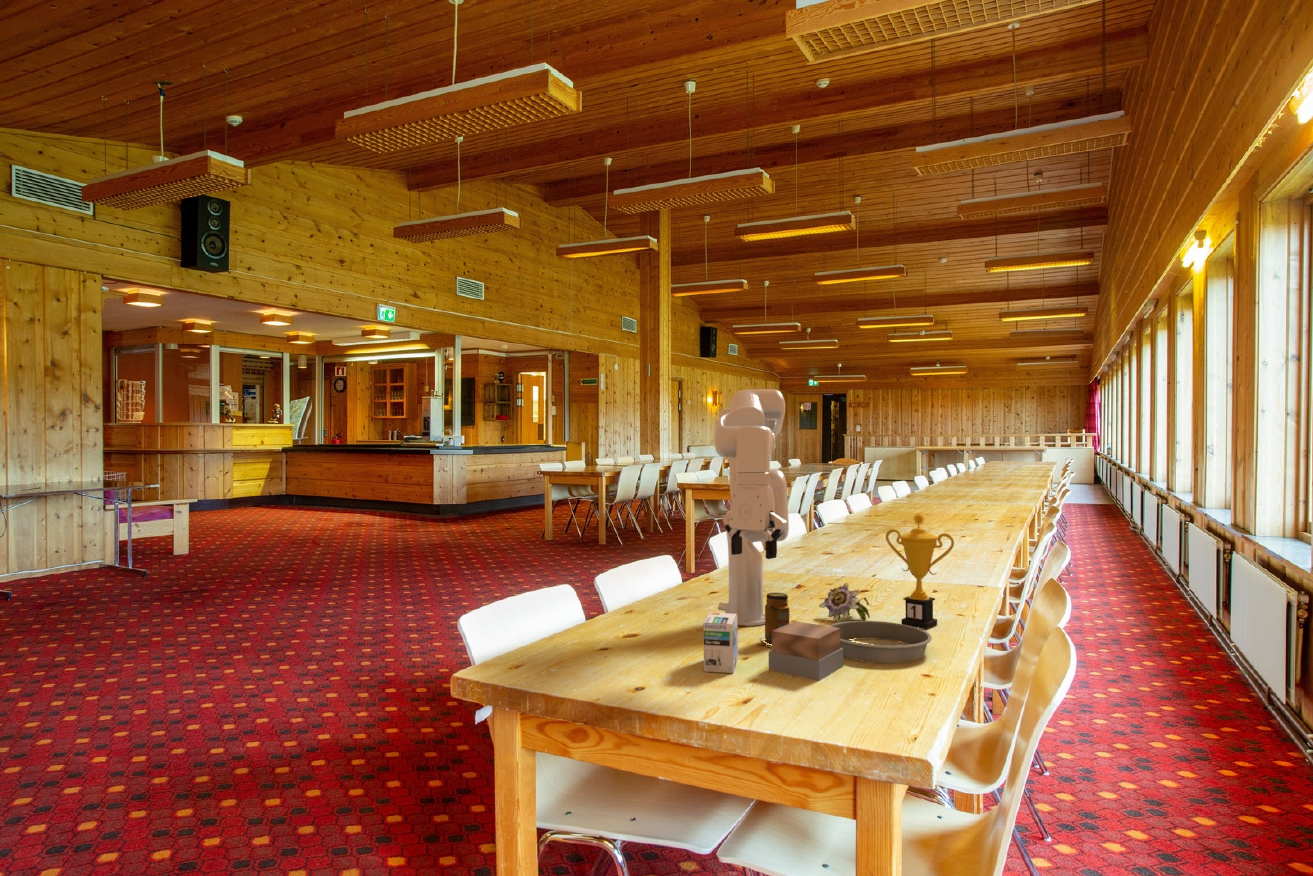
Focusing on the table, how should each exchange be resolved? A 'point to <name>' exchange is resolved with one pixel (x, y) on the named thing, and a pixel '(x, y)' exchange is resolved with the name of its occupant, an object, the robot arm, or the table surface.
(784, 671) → the grey block
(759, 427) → the robot arm
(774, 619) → the condiment
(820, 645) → the walnut block
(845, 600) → the passion flower
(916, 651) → the cake pan
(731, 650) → the light bulb box
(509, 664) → the table surface
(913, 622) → the trophy
